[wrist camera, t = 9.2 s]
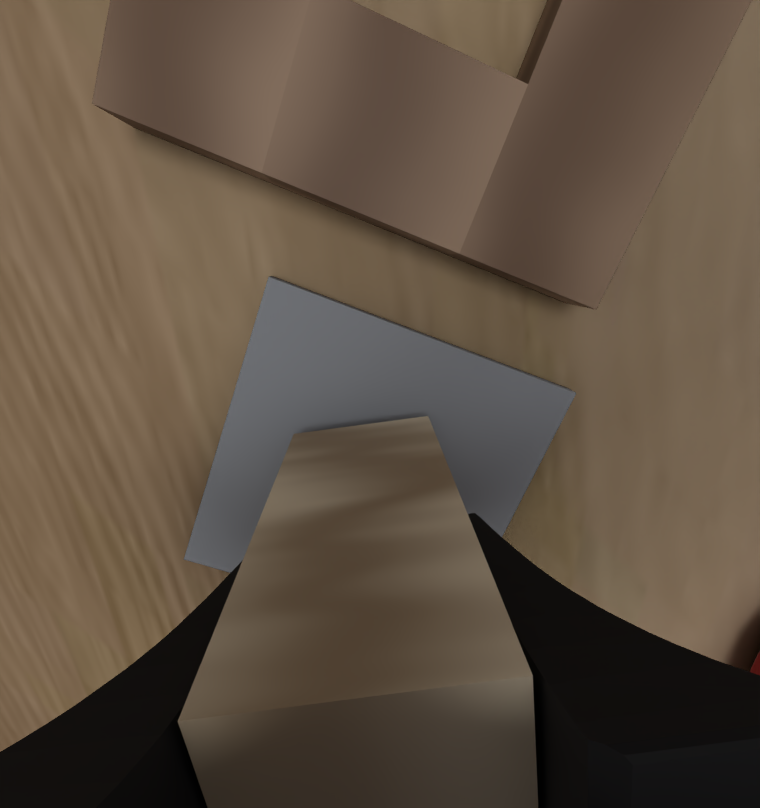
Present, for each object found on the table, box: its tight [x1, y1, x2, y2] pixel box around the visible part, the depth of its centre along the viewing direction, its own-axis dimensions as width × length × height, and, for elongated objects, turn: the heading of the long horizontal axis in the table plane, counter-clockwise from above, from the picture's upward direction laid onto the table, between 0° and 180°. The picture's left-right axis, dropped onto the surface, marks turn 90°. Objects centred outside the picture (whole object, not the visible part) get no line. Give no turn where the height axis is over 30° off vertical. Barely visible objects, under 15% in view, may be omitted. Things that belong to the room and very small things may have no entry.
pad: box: [184, 276, 576, 573], centre depth 16 cm, size 10×10×1 cm
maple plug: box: [178, 416, 538, 808], centre depth 10 cm, size 4×4×9 cm
